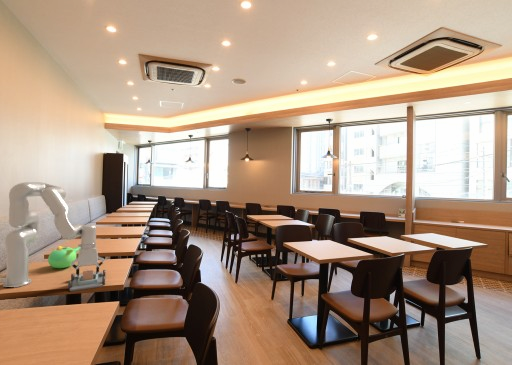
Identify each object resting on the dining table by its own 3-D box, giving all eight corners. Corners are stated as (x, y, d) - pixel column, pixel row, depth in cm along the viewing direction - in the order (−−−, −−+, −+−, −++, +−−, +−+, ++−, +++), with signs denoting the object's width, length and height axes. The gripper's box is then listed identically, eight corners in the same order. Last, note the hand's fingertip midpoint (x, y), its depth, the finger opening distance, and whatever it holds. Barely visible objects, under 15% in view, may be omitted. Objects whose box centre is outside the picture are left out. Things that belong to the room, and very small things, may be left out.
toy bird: (54, 264, 196) (54, 243, 196) (81, 262, 201) (81, 242, 201) (43, 272, 179) (43, 250, 179) (73, 270, 184) (73, 248, 184)
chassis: (67, 291, 150) (67, 283, 150) (72, 278, 169) (72, 271, 168) (104, 286, 159) (105, 278, 158) (105, 274, 177) (105, 268, 177)
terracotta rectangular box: (82, 283, 159) (82, 273, 159) (83, 279, 165) (83, 269, 165) (92, 282, 162) (92, 272, 161) (93, 278, 168) (93, 268, 168)
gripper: (70, 248, 156) (69, 278, 156) (104, 246, 164) (104, 274, 164) (72, 245, 163) (71, 274, 163) (105, 243, 171) (104, 270, 171)
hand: (87, 274), depth 163 cm, fingers open, 9 cm apart
